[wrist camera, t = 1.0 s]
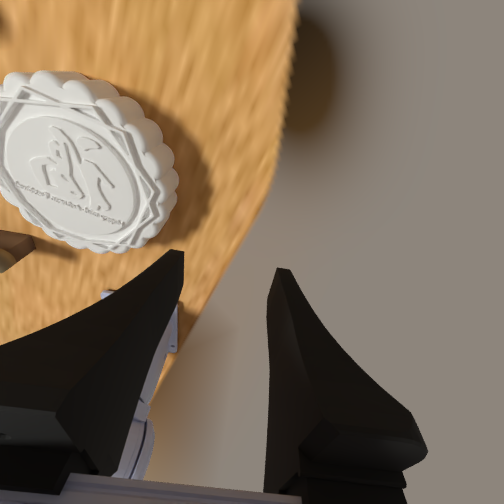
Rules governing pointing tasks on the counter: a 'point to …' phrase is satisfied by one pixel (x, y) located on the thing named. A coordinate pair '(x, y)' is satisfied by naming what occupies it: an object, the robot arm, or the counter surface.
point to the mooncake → (83, 161)
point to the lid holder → (13, 248)
